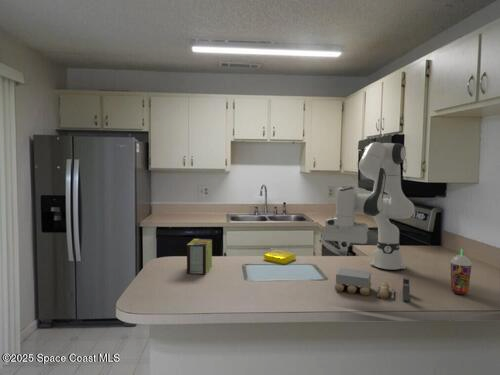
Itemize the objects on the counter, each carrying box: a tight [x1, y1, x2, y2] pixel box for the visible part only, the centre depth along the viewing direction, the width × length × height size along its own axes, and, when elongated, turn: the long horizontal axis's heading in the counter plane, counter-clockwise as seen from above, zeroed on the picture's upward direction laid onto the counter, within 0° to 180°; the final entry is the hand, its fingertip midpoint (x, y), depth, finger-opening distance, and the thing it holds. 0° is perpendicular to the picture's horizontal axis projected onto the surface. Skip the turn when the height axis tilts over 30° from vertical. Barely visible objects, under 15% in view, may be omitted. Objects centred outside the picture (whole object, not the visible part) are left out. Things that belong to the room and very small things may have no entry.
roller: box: [379, 282, 390, 300], centre depth 158 cm, size 12×4×4 cm, turn 157°
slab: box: [335, 267, 372, 288], centre depth 163 cm, size 12×14×4 cm
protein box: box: [186, 238, 213, 275], centre depth 191 cm, size 10×15×16 cm
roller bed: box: [334, 281, 395, 301], centre depth 161 cm, size 12×25×4 cm, turn 67°
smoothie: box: [449, 248, 473, 295], centre depth 162 cm, size 8×8×20 cm
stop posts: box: [402, 277, 411, 303], centre depth 154 cm, size 11×2×7 cm, turn 157°
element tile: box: [263, 249, 296, 265], centre depth 213 cm, size 15×15×5 cm
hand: (343, 251), depth 164 cm, fingers closed
